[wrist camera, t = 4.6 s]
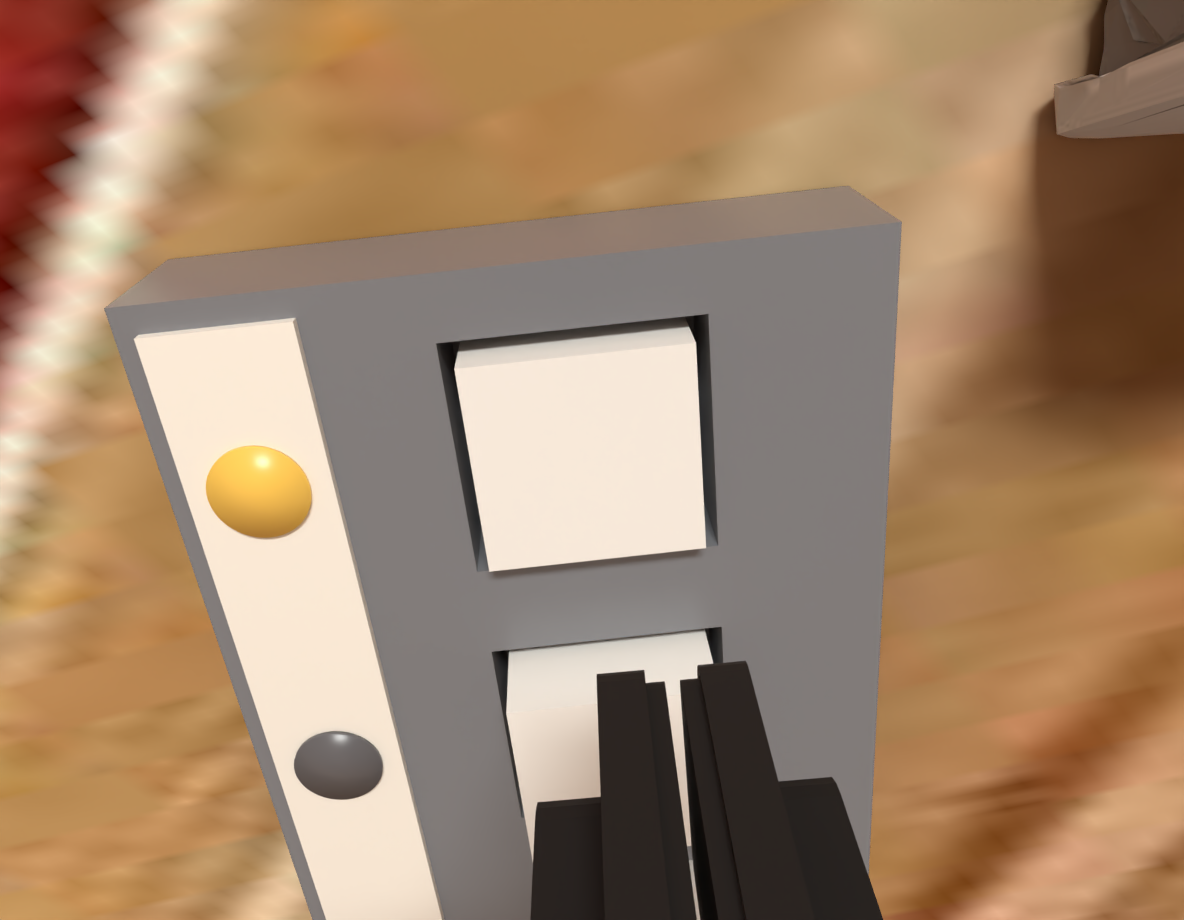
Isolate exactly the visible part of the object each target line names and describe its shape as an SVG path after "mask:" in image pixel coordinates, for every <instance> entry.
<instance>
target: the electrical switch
mask: <svg viewBox="0 0 1184 920" xmlns="http://www.w3.org/2000/svg"><path fill="white" fill-rule="evenodd" d="M1054 100H1055V115H1056V129H1057V134H1058V135H1061V136H1065V137H1068V138H1116V137H1133V136H1149V135H1166V134H1183V133H1184V0H1108V3H1107V6H1106V10H1105V14H1104V51H1103V56H1102V61H1101V66H1100V71H1099V76H1096V75H1092V74H1090V75H1086V76H1083V77H1079V78H1076V79H1072V80H1069V81H1065V82H1062V83H1058V84H1054Z"/></svg>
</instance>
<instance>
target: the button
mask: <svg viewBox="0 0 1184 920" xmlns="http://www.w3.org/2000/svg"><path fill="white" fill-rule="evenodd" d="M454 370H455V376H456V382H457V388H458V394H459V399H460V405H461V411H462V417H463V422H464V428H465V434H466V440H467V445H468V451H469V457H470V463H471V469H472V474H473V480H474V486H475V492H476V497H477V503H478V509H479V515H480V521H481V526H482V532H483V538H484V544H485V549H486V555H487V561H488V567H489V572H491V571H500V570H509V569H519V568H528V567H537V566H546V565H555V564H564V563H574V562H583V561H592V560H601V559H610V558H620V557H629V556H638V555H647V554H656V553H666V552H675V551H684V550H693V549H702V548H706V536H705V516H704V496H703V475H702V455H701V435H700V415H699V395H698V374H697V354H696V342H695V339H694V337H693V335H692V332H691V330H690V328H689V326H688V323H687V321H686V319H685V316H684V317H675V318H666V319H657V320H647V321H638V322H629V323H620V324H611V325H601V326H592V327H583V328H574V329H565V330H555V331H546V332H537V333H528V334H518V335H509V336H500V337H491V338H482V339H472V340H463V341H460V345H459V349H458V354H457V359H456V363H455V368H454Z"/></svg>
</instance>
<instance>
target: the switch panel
mask: <svg viewBox="0 0 1184 920" xmlns="http://www.w3.org/2000/svg"><path fill="white" fill-rule="evenodd" d="M901 224H902V222H901V221H900V220H898V219H897V218H895V217H894V216H892V215H891V214H889V213H888V212H886V211H885V210H883V209H882V208H880V207H879V206H877V205H876V204H874V203H873V202H871V201H870V200H869V199H867V198H866V197H864V196H863V195H861V194H860V193H858V192H857V191H855V190H854V189H852V188H851V187H849V186H842V187H833V188H823V189H814V190H805V191H796V192H786V193H777V194H768V195H759V196H750V197H740V198H731V199H722V200H713V201H703V202H694V203H685V204H676V205H667V206H657V207H648V208H639V209H630V210H620V211H611V212H602V213H593V214H583V215H574V216H565V217H556V218H547V219H537V220H528V221H519V222H510V223H500V224H491V225H482V226H473V227H464V228H454V229H445V230H436V231H427V232H417V233H408V234H399V235H390V236H381V237H371V238H362V239H353V240H344V241H334V242H325V243H316V244H307V245H297V246H288V247H279V248H270V249H261V250H251V251H242V252H233V253H224V254H214V255H205V256H196V257H187V258H178V259H168V260H167V261H165V262H164V263H163V264H162V265H160V266H159V267H158V268H156V269H155V270H154V271H152V272H151V273H150V274H148V275H147V276H146V277H145V278H143V279H142V280H141V281H139V282H138V283H137V284H135V285H134V286H133V287H131V288H130V289H129V290H128V291H126V292H125V293H124V294H122V295H121V296H120V297H118V298H117V299H116V300H114V301H113V302H112V303H111V304H109V305H108V306H107V307H105V308H104V309H105V312H106V315H107V318H108V321H109V324H110V327H111V330H112V333H113V336H114V339H115V342H116V344H117V347H118V350H119V353H120V356H121V359H122V362H123V365H124V368H125V371H126V374H127V377H128V380H129V383H130V386H131V388H132V391H133V394H134V397H135V400H136V403H137V406H138V409H139V412H140V415H141V418H142V421H143V424H144V427H145V430H146V432H147V435H148V438H149V441H150V444H151V447H152V450H153V453H154V456H155V459H156V462H157V465H158V468H159V471H160V474H161V476H162V479H163V482H164V485H165V488H166V491H167V494H168V497H169V500H170V503H171V506H172V509H173V512H174V515H175V518H176V520H177V523H178V526H179V529H180V532H181V535H182V538H183V541H184V544H185V547H186V550H187V553H188V556H189V559H190V562H191V564H192V567H193V570H194V573H195V576H196V579H197V582H198V585H199V588H200V591H201V594H202V597H203V600H204V603H205V606H206V608H207V611H208V614H209V617H210V620H211V623H212V626H213V629H214V632H215V635H216V638H217V641H218V644H219V647H220V650H221V652H222V655H223V658H224V661H225V664H226V667H227V670H228V673H229V676H230V679H231V682H232V685H233V688H234V691H235V694H236V696H237V699H238V702H239V705H240V708H241V711H242V714H243V717H244V720H245V723H246V726H247V729H248V732H249V735H250V738H251V740H252V743H253V746H254V749H255V752H256V755H257V758H258V761H259V764H260V767H261V770H262V773H263V776H264V779H265V782H266V784H267V787H268V790H269V793H270V796H271V799H272V802H273V805H274V808H275V811H276V814H277V817H278V820H279V823H280V826H281V829H282V831H283V834H284V837H285V840H286V843H287V846H288V849H289V852H290V855H291V858H292V861H293V864H294V867H295V870H296V873H297V875H298V878H299V881H300V884H301V887H302V890H303V893H304V896H305V899H306V902H307V905H308V908H309V911H310V914H311V917H312V919H313V920H530V917H531V895H532V874H533V861H532V855H531V850H530V844H529V838H528V833H527V827H526V821H525V816H524V810H523V805H522V799H521V793H520V788H519V782H518V776H517V771H516V765H515V760H514V754H513V748H512V743H511V737H510V731H509V726H508V720H507V715H506V709H507V686H508V663H509V650H512V649H521V648H530V647H540V646H549V645H558V644H567V643H576V642H585V641H595V640H604V639H613V638H622V637H631V636H641V635H650V634H659V633H668V632H677V631H686V630H696V629H705V633H706V637H707V641H708V645H709V649H710V652H711V656H712V660H713V664H715V663H726V662H737V661H746V662H747V664H748V668H749V671H750V675H751V679H752V682H753V686H754V690H755V694H756V698H757V701H758V705H759V709H760V713H761V717H762V720H763V724H764V728H765V732H766V736H767V739H768V743H769V747H770V751H771V755H772V758H773V762H774V766H775V770H776V774H777V778H778V781H790V780H801V779H813V778H824V777H832V778H833V779H834V780H835V782H836V783H837V786H838V788H839V791H840V793H841V796H842V799H843V802H844V805H845V808H846V811H847V814H848V817H849V820H850V823H851V826H852V829H853V832H854V835H855V838H856V841H857V844H858V847H859V849H860V852H861V855H862V858H863V861H864V864H865V867H866V870H867V873H868V874H869V855H870V835H871V815H872V796H873V776H874V756H875V737H876V717H877V697H878V677H879V658H880V638H881V618H882V599H883V579H884V559H885V540H886V520H887V500H888V480H889V461H890V441H891V421H892V402H893V382H894V362H895V343H896V323H897V303H898V284H899V264H900V244H901ZM684 316H685V319H686V321H687V323H688V326H689V328H690V330H691V332H692V335H693V337H694V339H695V342H696V354H697V374H698V395H699V415H700V435H701V455H702V475H703V496H704V516H705V536H706V548H702V549H693V550H684V551H675V552H666V553H656V554H647V555H638V556H629V557H620V558H610V559H601V560H592V561H583V562H574V563H564V564H555V565H546V566H537V567H528V568H519V569H509V570H500V571H491V572H489V567H488V561H487V555H486V549H485V544H484V538H483V532H482V526H481V521H480V515H479V509H478V503H477V497H476V492H475V486H474V480H473V474H472V469H471V463H470V457H469V451H468V445H467V440H466V434H465V428H464V422H463V417H462V411H461V405H460V399H459V394H458V388H457V382H456V376H455V370H454V368H455V363H456V359H457V354H458V349H459V345H460V341H463V340H472V339H482V338H491V337H500V336H509V335H518V334H528V333H537V332H546V331H555V330H565V329H574V328H583V327H592V326H601V325H611V324H620V323H629V322H638V321H647V320H657V319H666V318H675V317H684ZM687 850H688V857H689V860H693V859H692V847H691V846H687Z"/></svg>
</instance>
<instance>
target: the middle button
mask: <svg viewBox="0 0 1184 920" xmlns="http://www.w3.org/2000/svg"><path fill="white" fill-rule="evenodd" d="M703 664H713V660H712V656H711V652H710V649H709V645H708V641H707V637H706V633H705V629H696V630H686V631H677V632H668V633H659V634H650V635H641V636H631V637H622V638H613V639H604V640H595V641H585V642H576V643H567V644H558V645H549V646H540V647H530V648H521V649H512V650H509V663H508V686H507V709H506V715H507V720H508V726H509V731H510V737H511V743H512V748H513V754H514V760H515V765H516V771H517V776H518V782H519V788H520V793H521V799H522V805H523V810H524V816H525V821H526V827H527V833H528V838H529V844H530V850H531V855H532V861H533V852H534V830H535V814H536V806H537V802H546V801H557V800H569V799H581V798H592V797H601V793H600V764H599V736H598V707H597V674H603V673H614V672H625V671H636V670H644V672H645V681H646V683H651V682H662V681H665V687H666V694H667V701H668V709H669V716H670V724H671V731H672V739H673V746H674V753H675V761H676V768H677V776H678V783H679V791H680V798H681V805H682V813H683V820H684V828H685V835H686V842H687V846H691V833H690V819H689V805H688V791H687V777H686V763H685V749H684V735H683V721H682V707H681V693H680V680H684V679H695V678H697V666H698V665H703Z"/></svg>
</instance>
